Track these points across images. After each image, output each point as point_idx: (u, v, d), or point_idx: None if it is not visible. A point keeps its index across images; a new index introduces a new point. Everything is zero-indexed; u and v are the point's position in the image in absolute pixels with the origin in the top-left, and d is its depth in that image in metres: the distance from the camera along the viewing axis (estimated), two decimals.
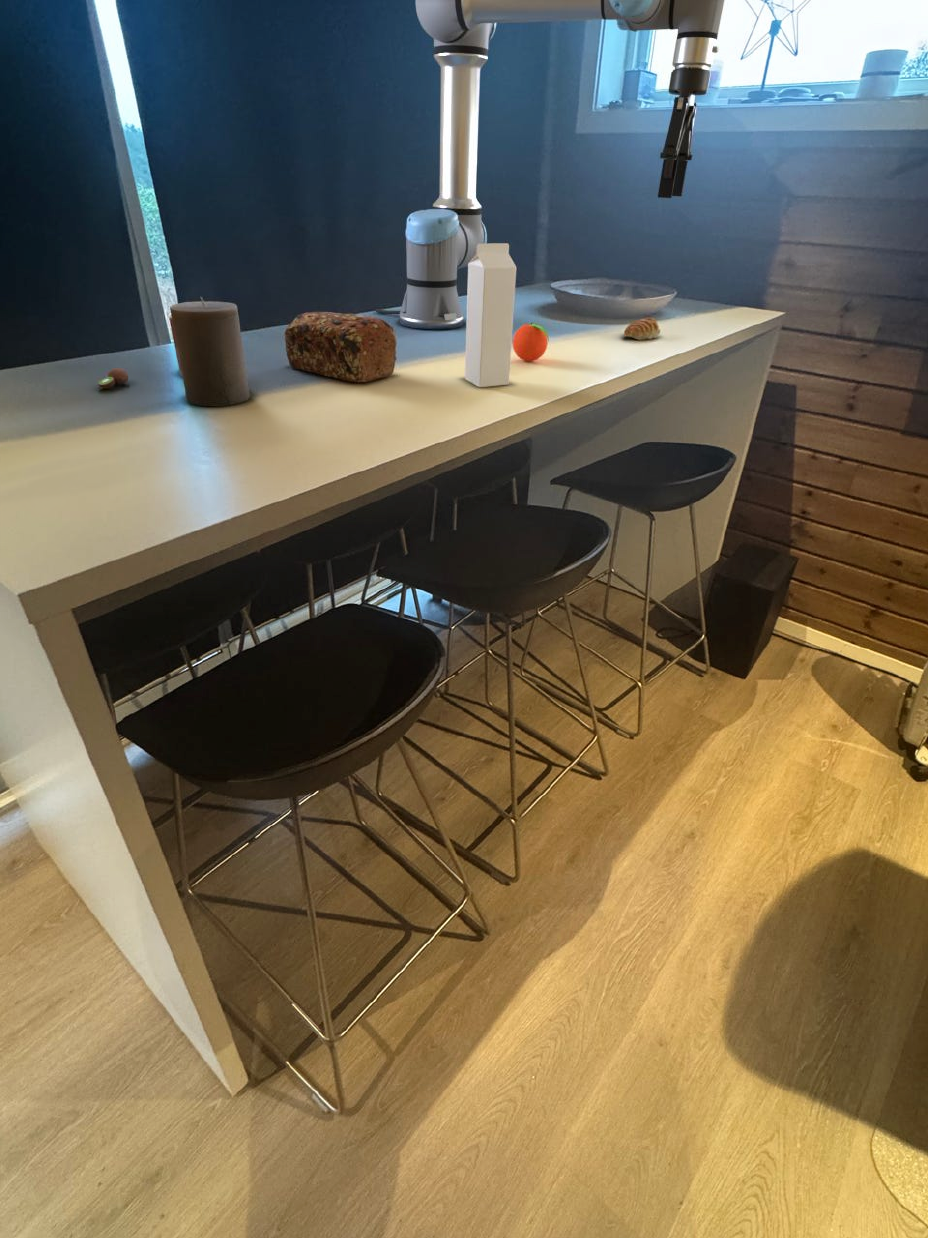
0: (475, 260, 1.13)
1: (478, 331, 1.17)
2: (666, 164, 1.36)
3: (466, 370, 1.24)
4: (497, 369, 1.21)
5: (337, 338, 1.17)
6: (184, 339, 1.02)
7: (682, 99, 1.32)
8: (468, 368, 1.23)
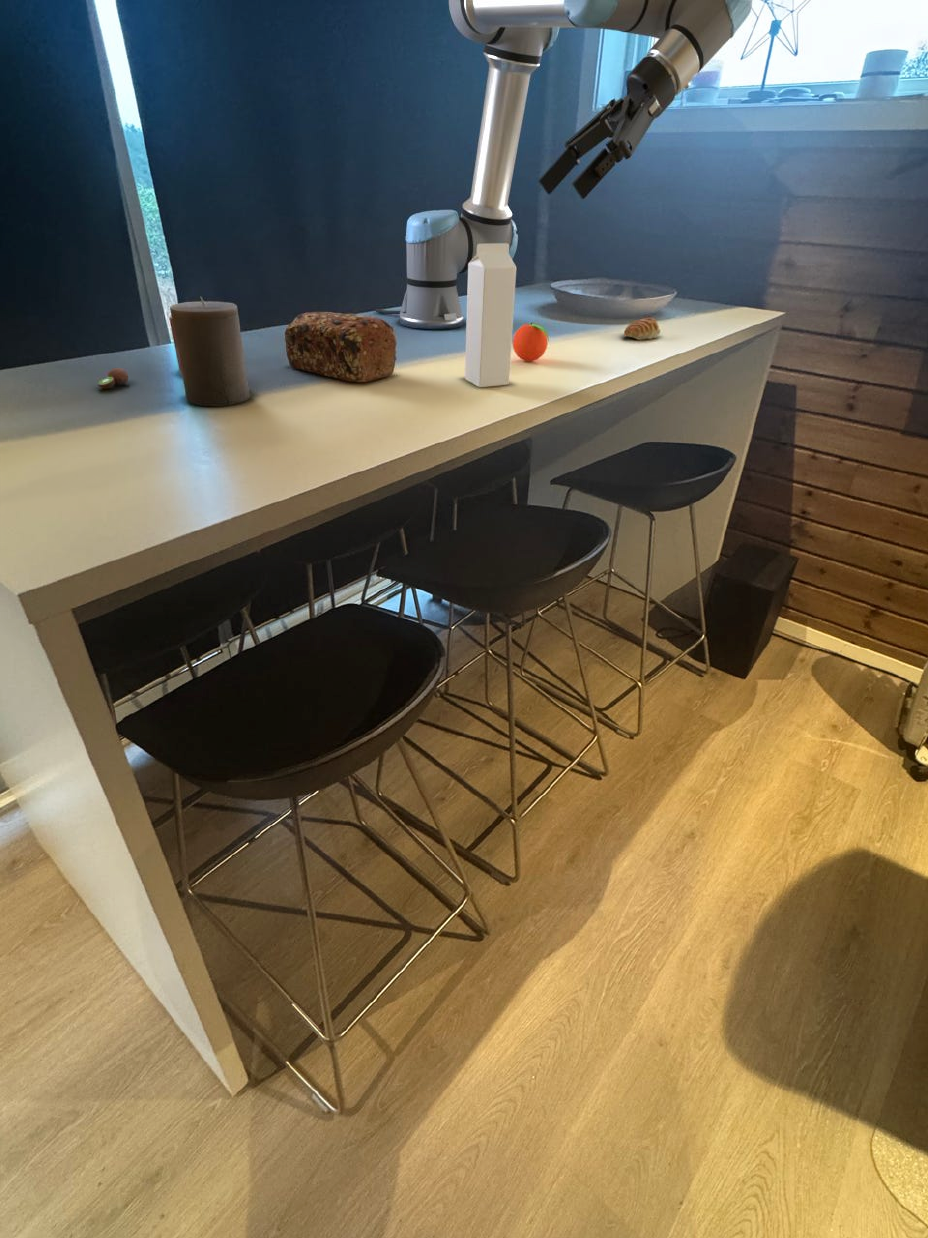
0: (475, 260, 1.13)
1: (478, 331, 1.17)
2: (608, 158, 1.03)
3: (466, 370, 1.24)
4: (497, 369, 1.21)
5: (337, 338, 1.17)
6: (184, 339, 1.02)
7: (658, 105, 1.02)
8: (468, 368, 1.23)
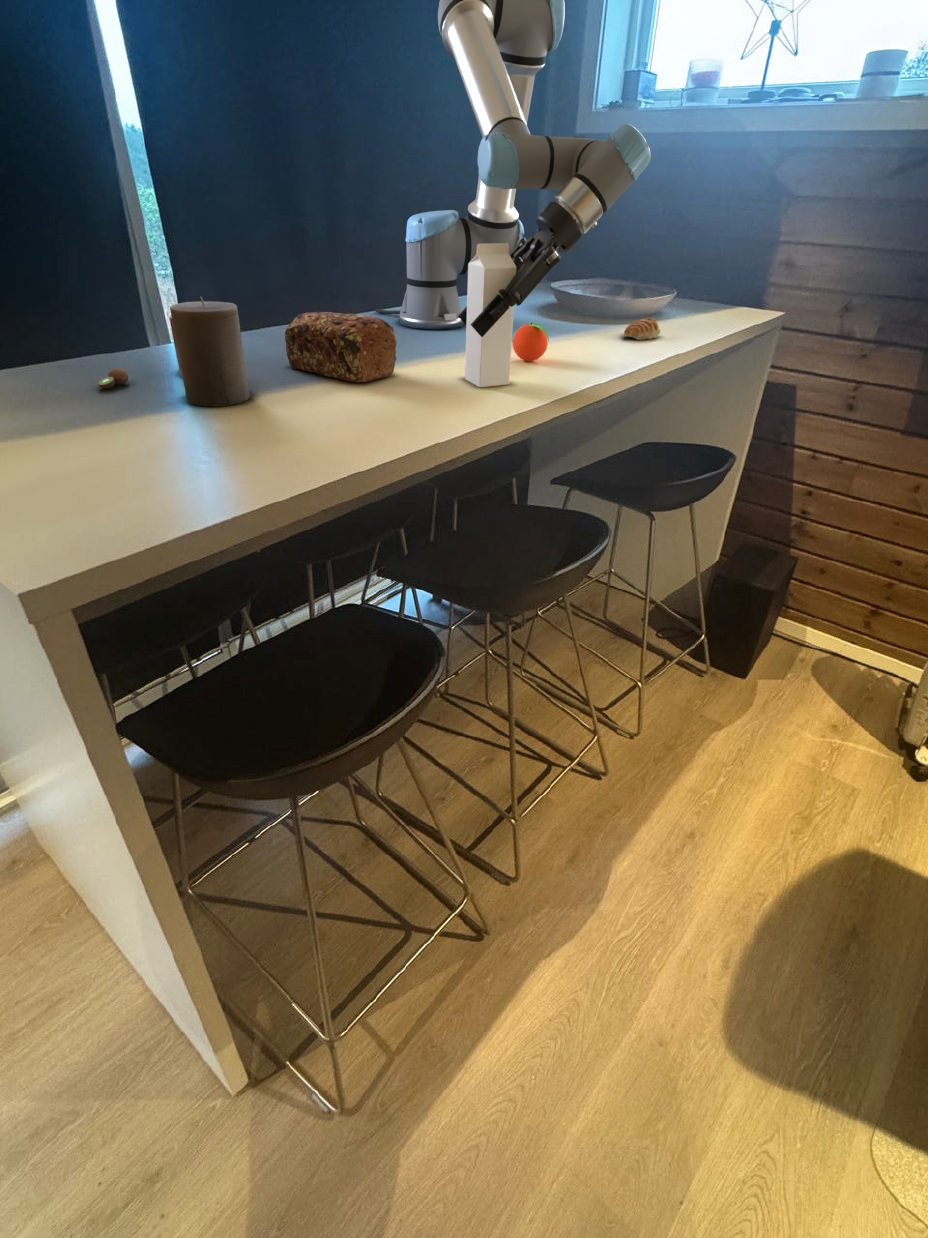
0: (475, 260, 1.13)
1: None
2: (501, 304, 1.13)
3: (466, 370, 1.24)
4: (497, 369, 1.21)
5: (337, 338, 1.17)
6: (184, 339, 1.02)
7: (555, 256, 1.10)
8: (468, 368, 1.23)
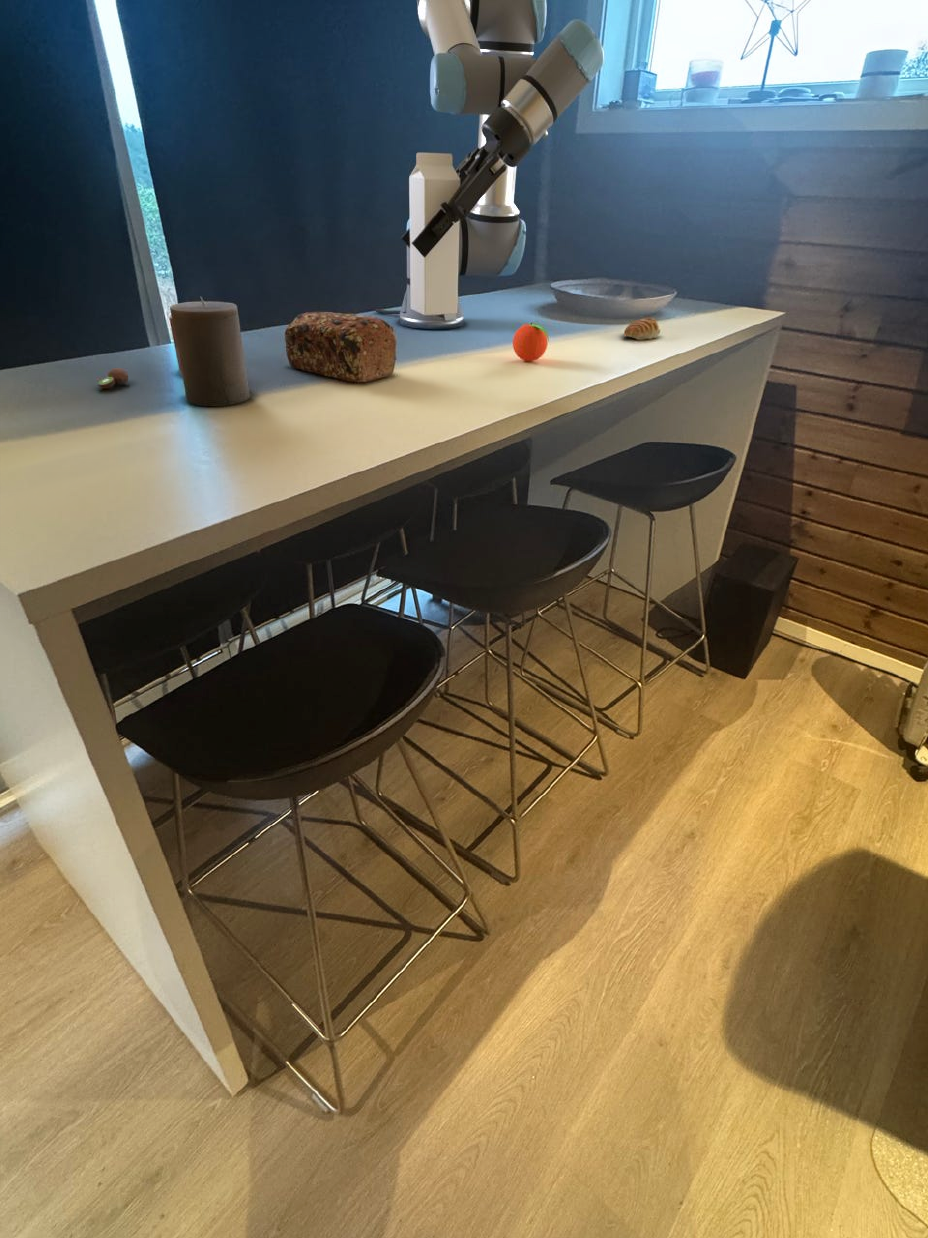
0: (416, 172, 1.05)
1: None
2: (444, 219, 1.04)
3: (411, 298, 1.15)
4: (443, 296, 1.12)
5: (337, 338, 1.17)
6: (184, 339, 1.02)
7: (501, 164, 1.01)
8: (413, 296, 1.15)
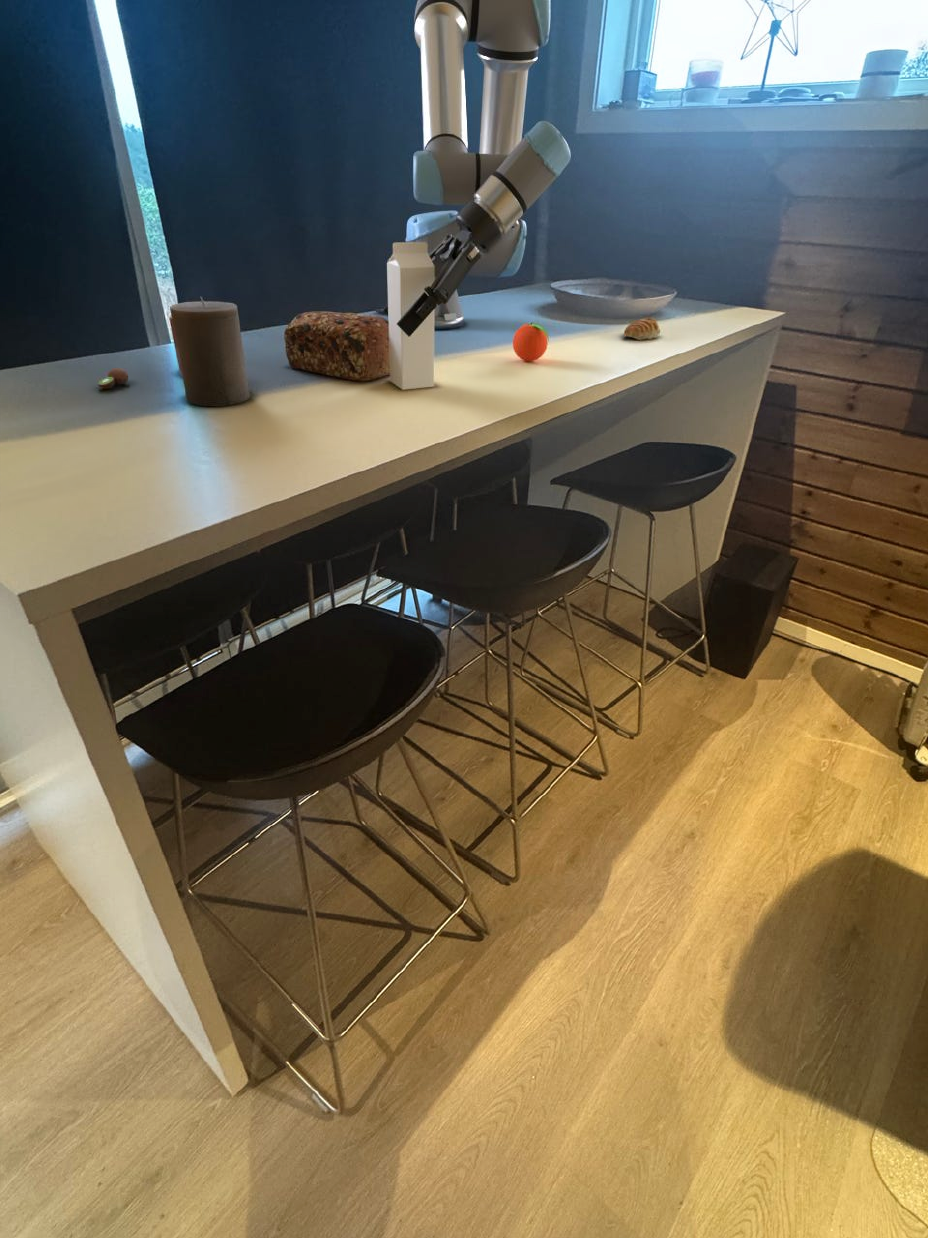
0: (393, 259, 1.10)
1: (398, 332, 1.14)
2: (427, 302, 1.08)
3: (391, 372, 1.21)
4: (420, 371, 1.18)
5: (341, 337, 1.18)
6: (184, 339, 1.02)
7: (476, 251, 1.07)
8: (392, 370, 1.20)
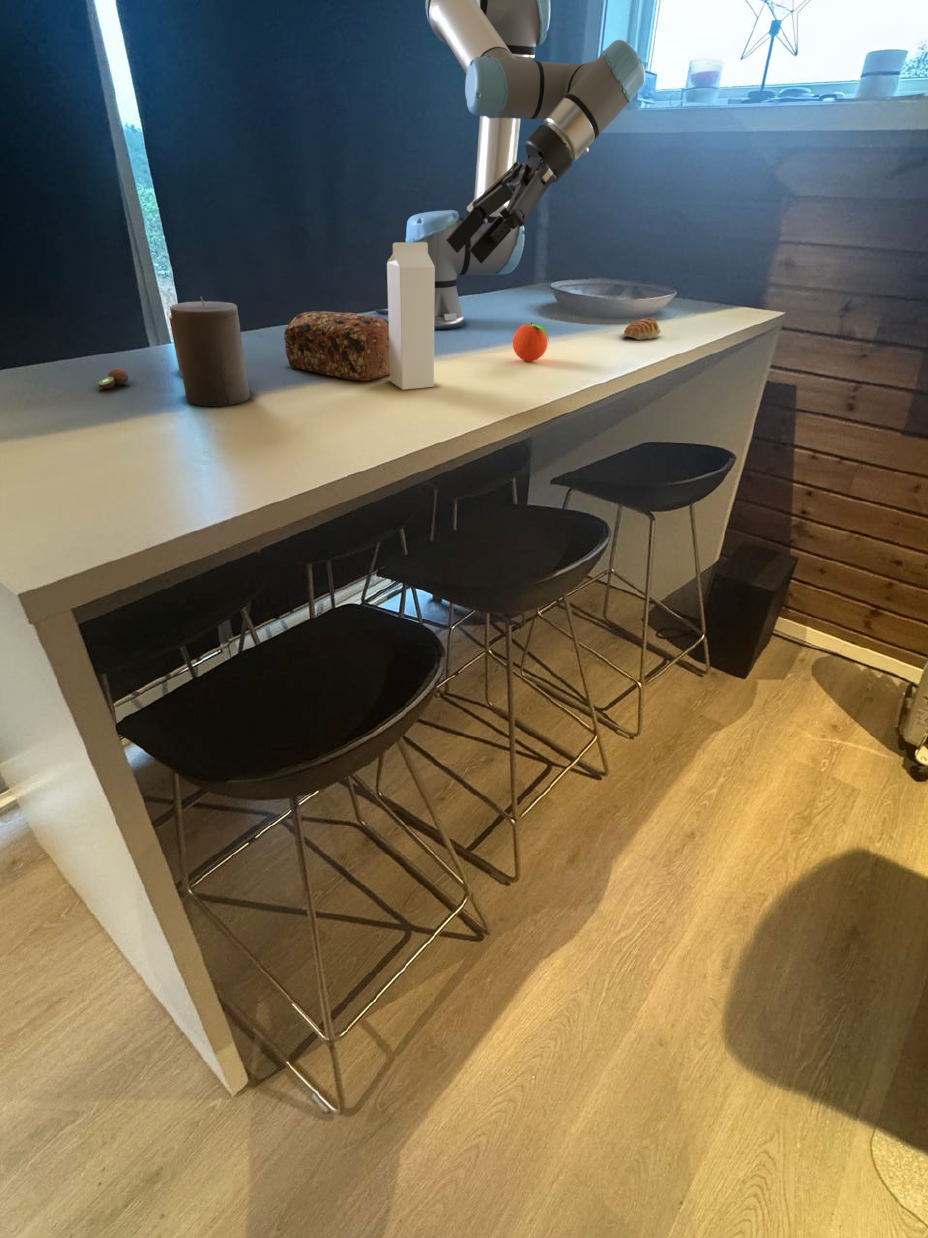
0: (393, 259, 1.10)
1: (398, 332, 1.14)
2: (502, 226, 1.04)
3: (391, 372, 1.21)
4: (420, 371, 1.18)
5: (341, 337, 1.18)
6: (184, 339, 1.02)
7: (551, 173, 1.04)
8: (392, 370, 1.20)
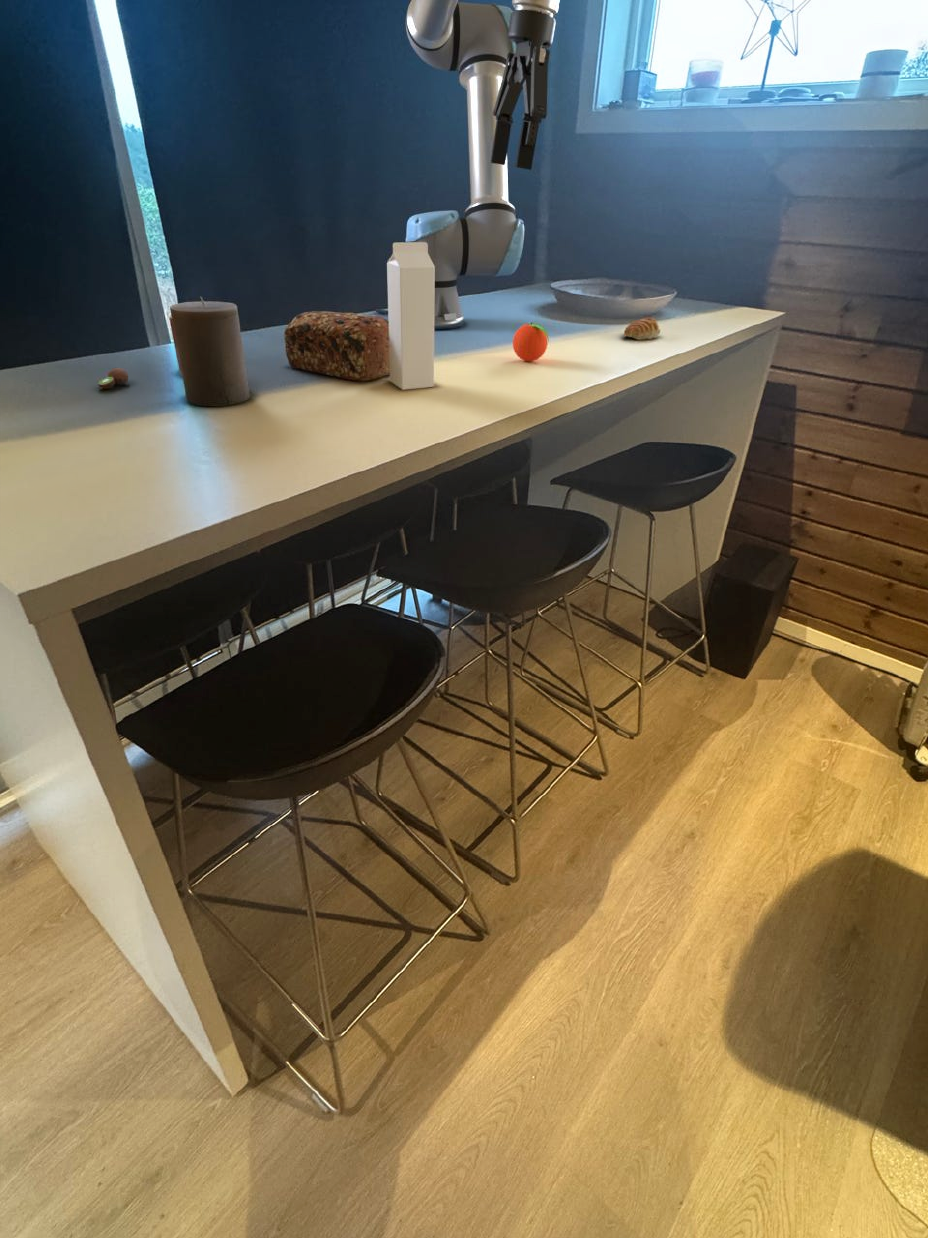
0: (393, 259, 1.10)
1: (398, 332, 1.14)
2: (530, 128, 1.15)
3: (391, 372, 1.21)
4: (420, 371, 1.18)
5: (341, 337, 1.18)
6: (184, 339, 1.02)
7: (544, 51, 1.11)
8: (392, 370, 1.20)
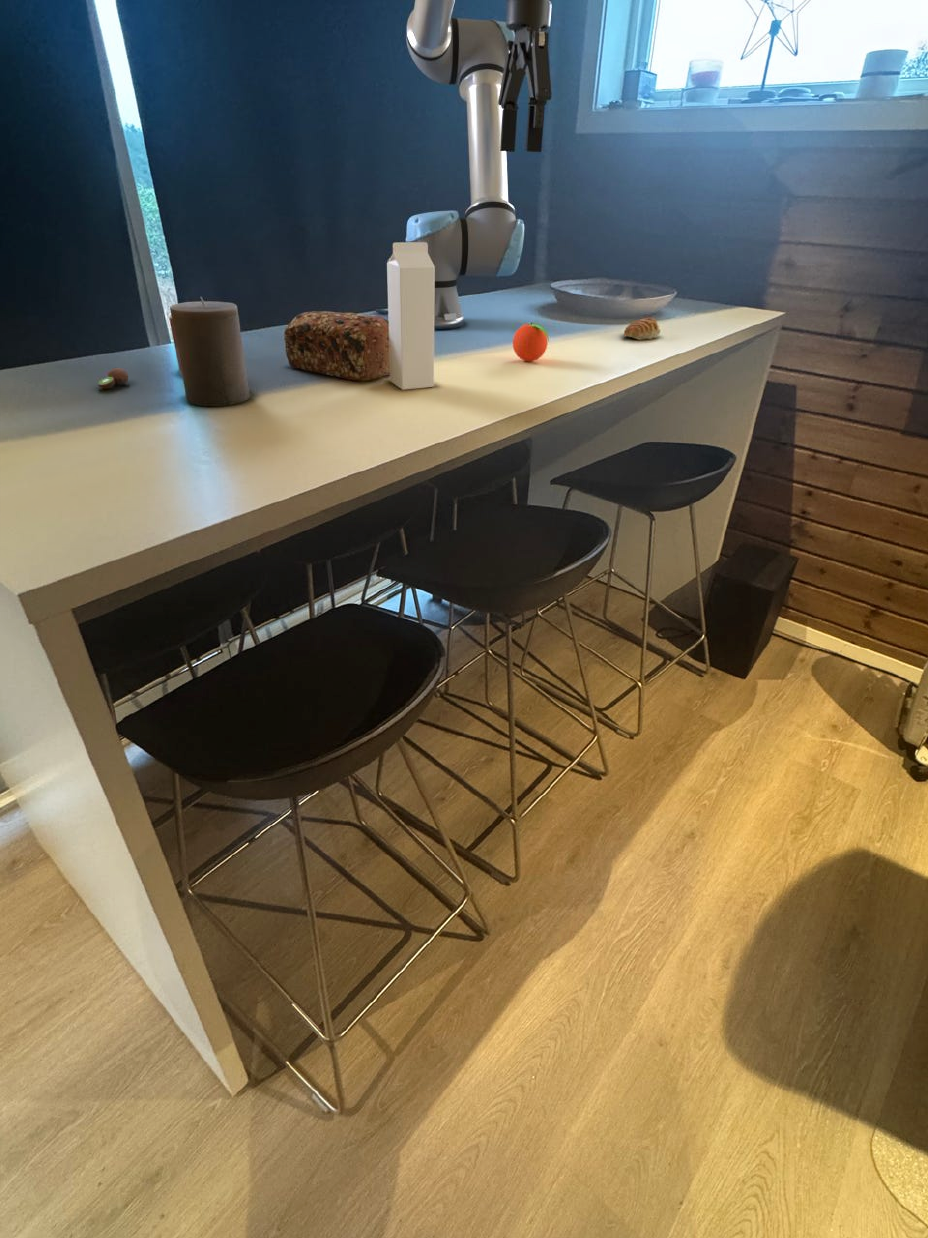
0: (393, 259, 1.10)
1: (398, 332, 1.14)
2: (537, 111, 1.18)
3: (391, 372, 1.21)
4: (420, 371, 1.18)
5: (341, 337, 1.18)
6: (184, 339, 1.02)
7: (543, 34, 1.14)
8: (392, 370, 1.20)
